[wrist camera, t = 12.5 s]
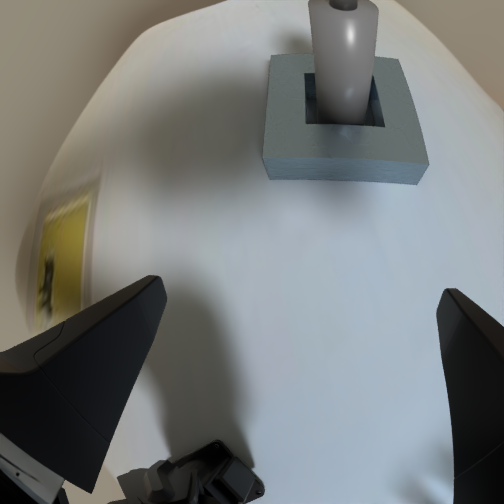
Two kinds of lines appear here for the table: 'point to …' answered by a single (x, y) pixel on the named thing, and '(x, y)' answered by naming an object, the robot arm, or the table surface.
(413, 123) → the grey square frame
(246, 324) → the table surface
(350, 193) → the table surface
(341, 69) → the plug
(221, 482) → the robot arm
